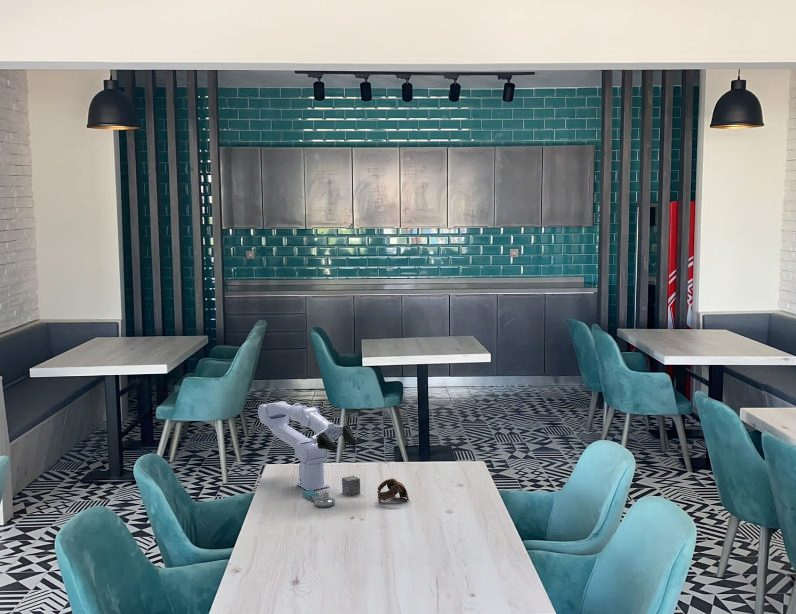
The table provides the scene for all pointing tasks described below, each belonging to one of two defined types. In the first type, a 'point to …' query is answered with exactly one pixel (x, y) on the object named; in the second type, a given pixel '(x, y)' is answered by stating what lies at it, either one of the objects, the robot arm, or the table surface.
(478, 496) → the table surface
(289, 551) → the table surface
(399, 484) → the brown openwork dome
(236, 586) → the table surface
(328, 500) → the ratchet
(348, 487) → the socket
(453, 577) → the table surface
